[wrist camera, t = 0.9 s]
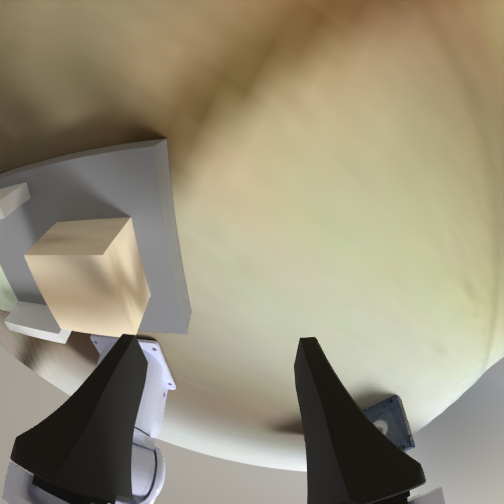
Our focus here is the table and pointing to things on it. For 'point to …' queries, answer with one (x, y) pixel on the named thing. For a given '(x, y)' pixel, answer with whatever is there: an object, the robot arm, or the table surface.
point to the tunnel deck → (87, 208)
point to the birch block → (91, 275)
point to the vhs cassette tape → (391, 422)
